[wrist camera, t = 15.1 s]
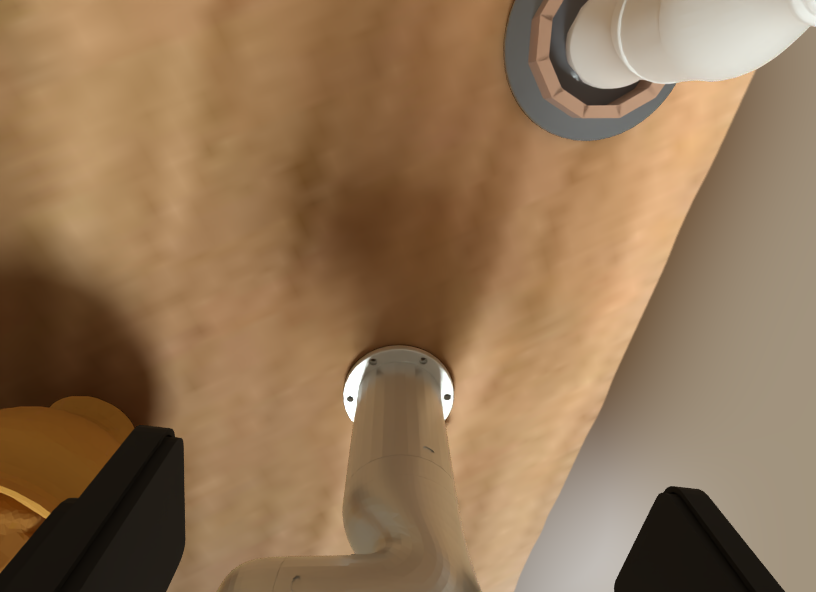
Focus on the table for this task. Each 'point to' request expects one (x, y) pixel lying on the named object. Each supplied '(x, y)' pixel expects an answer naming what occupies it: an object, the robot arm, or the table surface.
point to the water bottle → (681, 38)
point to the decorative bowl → (51, 460)
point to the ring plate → (566, 77)
